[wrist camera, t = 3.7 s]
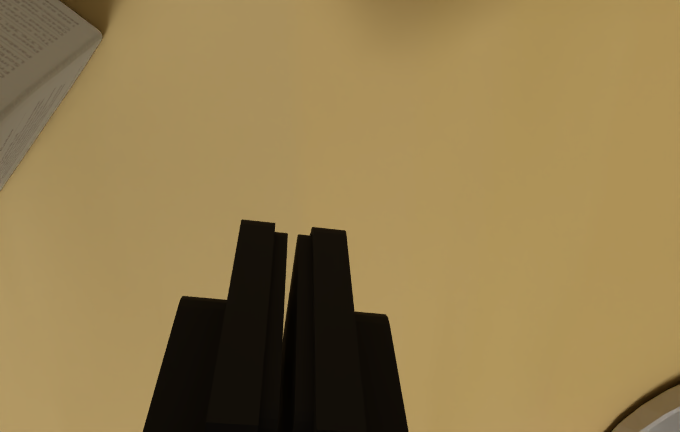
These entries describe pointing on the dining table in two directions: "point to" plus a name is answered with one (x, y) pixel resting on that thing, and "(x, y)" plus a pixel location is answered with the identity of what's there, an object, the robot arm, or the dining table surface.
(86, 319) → the dining table surface
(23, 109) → the small box
